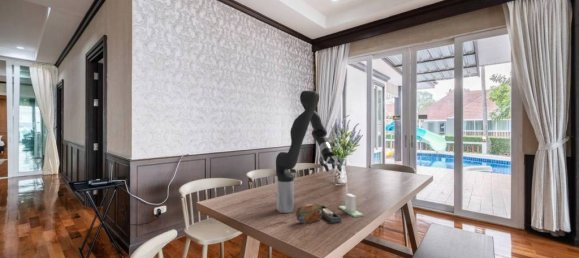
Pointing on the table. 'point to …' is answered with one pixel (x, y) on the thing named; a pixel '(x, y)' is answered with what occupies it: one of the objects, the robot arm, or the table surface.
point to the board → (354, 214)
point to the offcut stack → (328, 212)
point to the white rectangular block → (350, 203)
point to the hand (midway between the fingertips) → (334, 170)
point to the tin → (309, 213)
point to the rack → (333, 219)
